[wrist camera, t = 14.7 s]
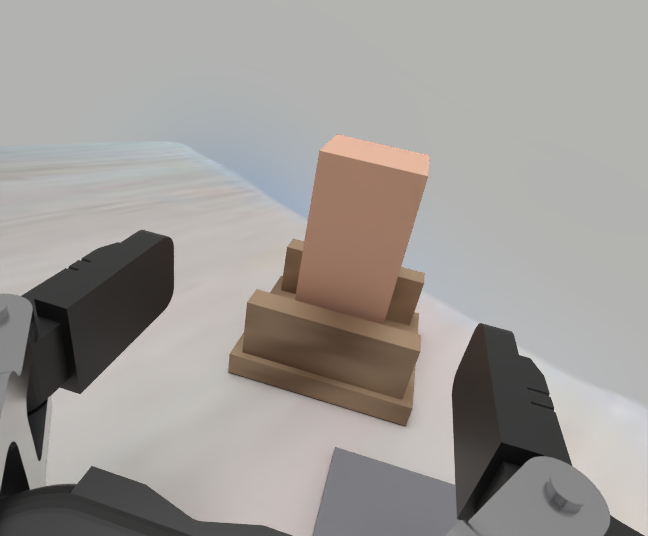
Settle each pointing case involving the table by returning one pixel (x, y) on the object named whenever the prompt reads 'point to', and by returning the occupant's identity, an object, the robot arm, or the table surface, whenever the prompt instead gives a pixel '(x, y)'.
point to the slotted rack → (333, 346)
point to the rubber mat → (383, 500)
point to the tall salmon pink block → (359, 226)
